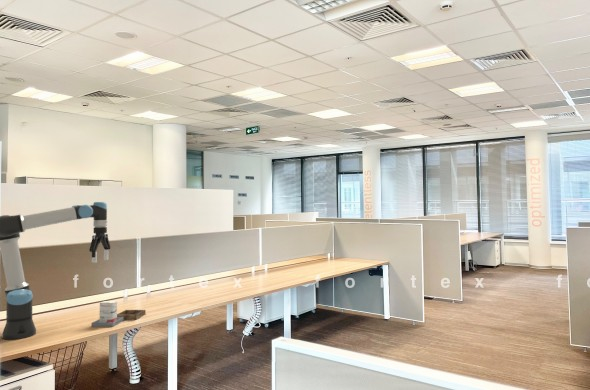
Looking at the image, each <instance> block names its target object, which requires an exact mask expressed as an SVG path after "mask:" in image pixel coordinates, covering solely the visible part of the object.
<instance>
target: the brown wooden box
mask: <svg viewBox="0 0 590 390" xmlns="http://www.w3.org/2000/svg"><path fill="white" fill-rule="evenodd" d="M145 315H146V309H125V310H123V311H121V312H119V313H117V317H124V321H137V320H139V319H140V318H142V317H144V316H145Z"/></svg>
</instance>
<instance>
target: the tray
mask: <svg viewBox="0 0 590 390" xmlns="http://www.w3.org/2000/svg"><path fill="white" fill-rule="evenodd" d="M124 321H125V320H124V317H117V320H116V321H115V322H113V323H100V318H99V319H96V320H95V321H92V322H91V328H92V327H93V328H95V327H96V328H99V327H100V328H101V327H104V328H105V327H106V328H109V327H111V328H114V327H115V326H117V325H118V324H121V323H122V322H124Z"/></svg>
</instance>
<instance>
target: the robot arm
mask: <svg viewBox="0 0 590 390" xmlns="http://www.w3.org/2000/svg"><path fill="white" fill-rule="evenodd" d="M107 207H108V206H107V202H105V201H95V202H93V203H92V204H91V205H89V204H83V205H82V204H81V205H78V204H77V205H76V204H75V205H72V206H71V207H65V208H59V209H55V210H49V211H43V212H38V213H32V214H27V215H22V214H16V215H15V214H14V215H7V214H6V215H4V214H3V215H0V254H1V261H2V266H3V271H4V277H5V281H6V287H5V289H4V293H5V301H6V313H5V314H6V322H5V326H4V329H3V331H2V335H1V337H2V339H3V340H9V341H10V340H20V339H25V338H29V337H33V336H34V335H36V334H37V328H36V325H35V323H34V320H33V297H34V295H33V292H32V290H31V286H30V284H29V283H28V282H26V279H25V272H24V268H23V262H22V258H21V257H22V256H21V252H20V247H19V242H18V240H19V239H21V234H20V233H24V232H25V231H26V230H32V229H36V228H41V227H42V228H43V227H46V226H50V225H57V224H62V223H67V222H72V221H77V220H82V219H89V218H93V223H92V224H93V235H92V237H91V243H90V246H89V252H90V253H91V263H92V264H96V263H98V259H97V258H98V256H97V255H98V253H97V249H98V248H99V245H100V244H101V246H102V248H103V261H108V260H109V250H110V249H111V243H110V240H109V234H108V229H107V225H108V224H107V223H108V219H107V217H108V216H107V215H108V214H107V213H108V208H107Z"/></svg>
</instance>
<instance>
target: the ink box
mask: <svg viewBox="0 0 590 390" xmlns="http://www.w3.org/2000/svg"><path fill="white" fill-rule="evenodd" d="M117 314H118V302H117V301H106V300H105V301H101V302H99V319H100V323H113V322H115V321H116V320H117Z"/></svg>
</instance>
